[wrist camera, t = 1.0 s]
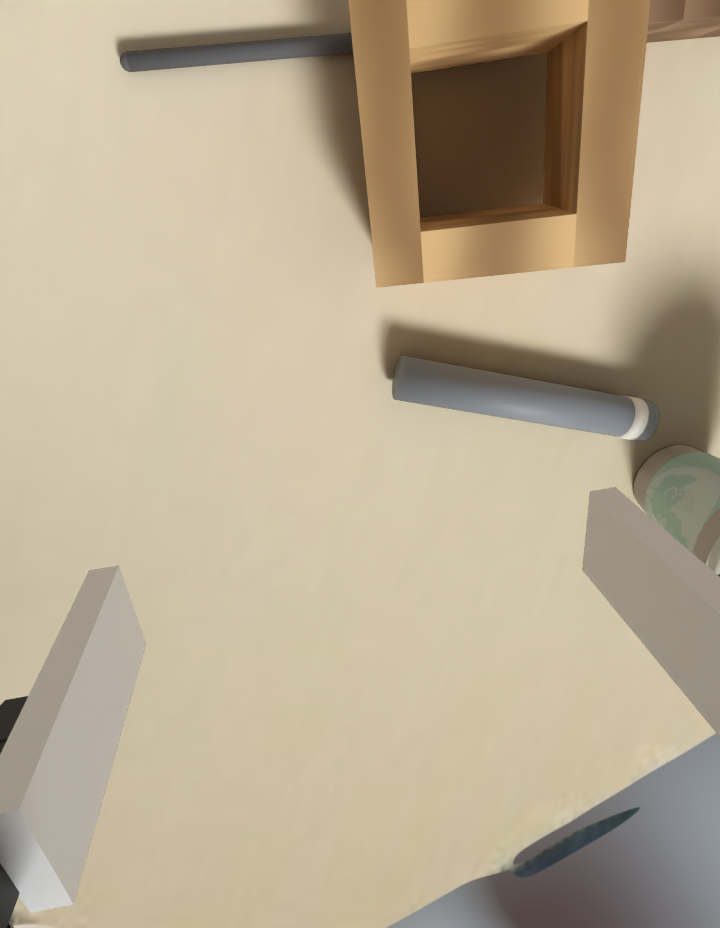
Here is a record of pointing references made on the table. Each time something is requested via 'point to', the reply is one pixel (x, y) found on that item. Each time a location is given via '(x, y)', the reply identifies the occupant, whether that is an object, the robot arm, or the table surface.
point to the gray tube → (523, 399)
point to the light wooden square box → (566, 132)
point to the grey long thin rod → (236, 52)
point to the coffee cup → (684, 498)
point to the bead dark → (683, 19)
